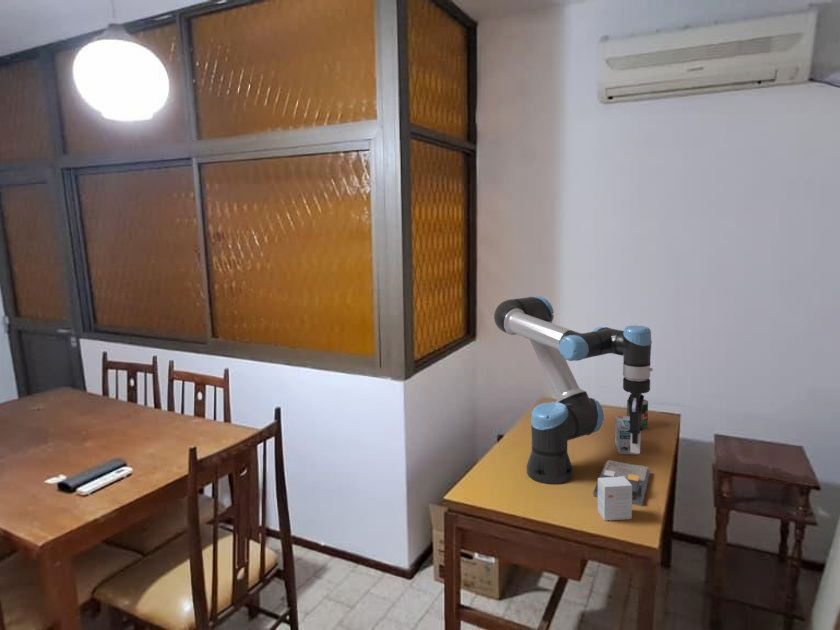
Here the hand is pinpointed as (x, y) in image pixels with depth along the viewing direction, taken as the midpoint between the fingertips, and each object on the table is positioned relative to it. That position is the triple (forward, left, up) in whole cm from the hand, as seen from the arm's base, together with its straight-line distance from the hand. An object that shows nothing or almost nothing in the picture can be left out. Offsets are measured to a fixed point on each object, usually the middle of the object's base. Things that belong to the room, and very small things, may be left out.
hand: (635, 452), depth 163 cm
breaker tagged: (-2, -2, -10) cm, 10 cm away
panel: (-1, +5, -13) cm, 14 cm away
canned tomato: (+27, +48, -13) cm, 56 cm away
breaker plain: (-7, +2, -10) cm, 12 cm away
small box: (-12, -11, -13) cm, 21 cm away
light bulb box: (+13, +30, -13) cm, 35 cm away
